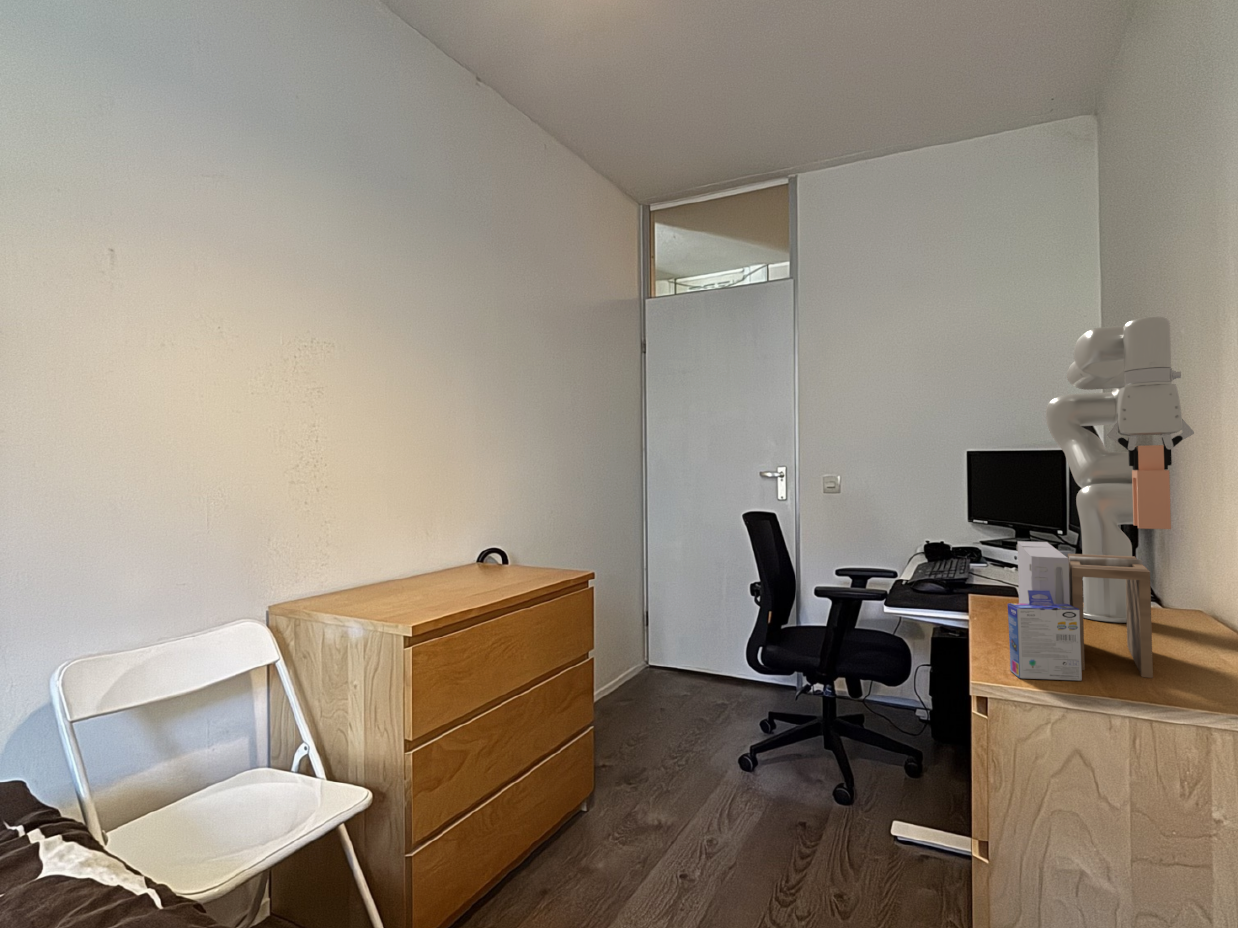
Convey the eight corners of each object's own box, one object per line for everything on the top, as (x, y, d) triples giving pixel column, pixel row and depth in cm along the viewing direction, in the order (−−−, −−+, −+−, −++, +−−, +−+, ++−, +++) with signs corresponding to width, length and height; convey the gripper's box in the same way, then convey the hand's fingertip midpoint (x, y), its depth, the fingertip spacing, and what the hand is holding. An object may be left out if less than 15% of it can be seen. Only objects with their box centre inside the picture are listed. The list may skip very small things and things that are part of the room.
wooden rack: (1069, 640, 138) (1067, 549, 138) (1136, 647, 132) (1134, 552, 132) (1074, 668, 119) (1071, 563, 119) (1152, 677, 113) (1150, 567, 113)
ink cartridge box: (1069, 672, 117) (1067, 589, 117) (1084, 682, 112) (1082, 595, 112) (1007, 669, 119) (1005, 588, 119) (1019, 679, 114) (1017, 594, 114)
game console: (1033, 666, 121) (1030, 556, 121) (1018, 632, 145) (1016, 541, 146) (1071, 670, 118) (1068, 557, 119) (1049, 634, 143) (1047, 542, 143)
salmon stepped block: (1133, 525, 140) (1131, 446, 140) (1163, 525, 137) (1161, 445, 137) (1138, 528, 133) (1136, 445, 133) (1171, 529, 130) (1168, 444, 130)
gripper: (1197, 377, 134) (1200, 468, 134) (1095, 384, 143) (1097, 470, 143) (1205, 373, 128) (1208, 469, 128) (1098, 381, 137) (1100, 470, 136)
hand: (1149, 468), depth 135 cm, fingers closed on salmon stepped block, 4 cm apart
